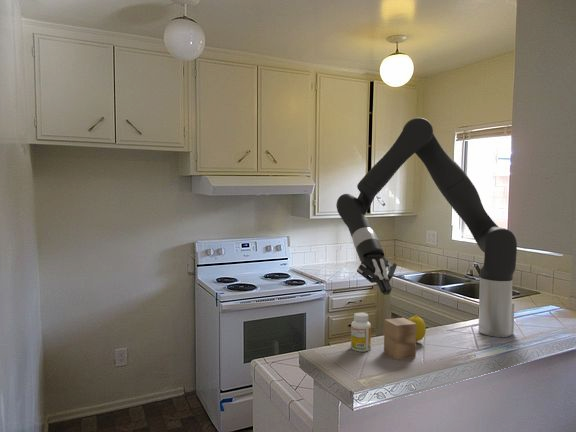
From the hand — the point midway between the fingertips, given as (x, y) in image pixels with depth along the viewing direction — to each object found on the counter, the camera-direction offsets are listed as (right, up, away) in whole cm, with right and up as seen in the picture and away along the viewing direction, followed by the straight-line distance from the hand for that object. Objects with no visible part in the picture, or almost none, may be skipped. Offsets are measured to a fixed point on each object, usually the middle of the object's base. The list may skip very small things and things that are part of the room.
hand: (387, 293), depth 121 cm
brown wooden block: (+2, -16, -6) cm, 17 cm away
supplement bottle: (-8, -15, -1) cm, 17 cm away
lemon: (+9, -15, +4) cm, 18 cm away
